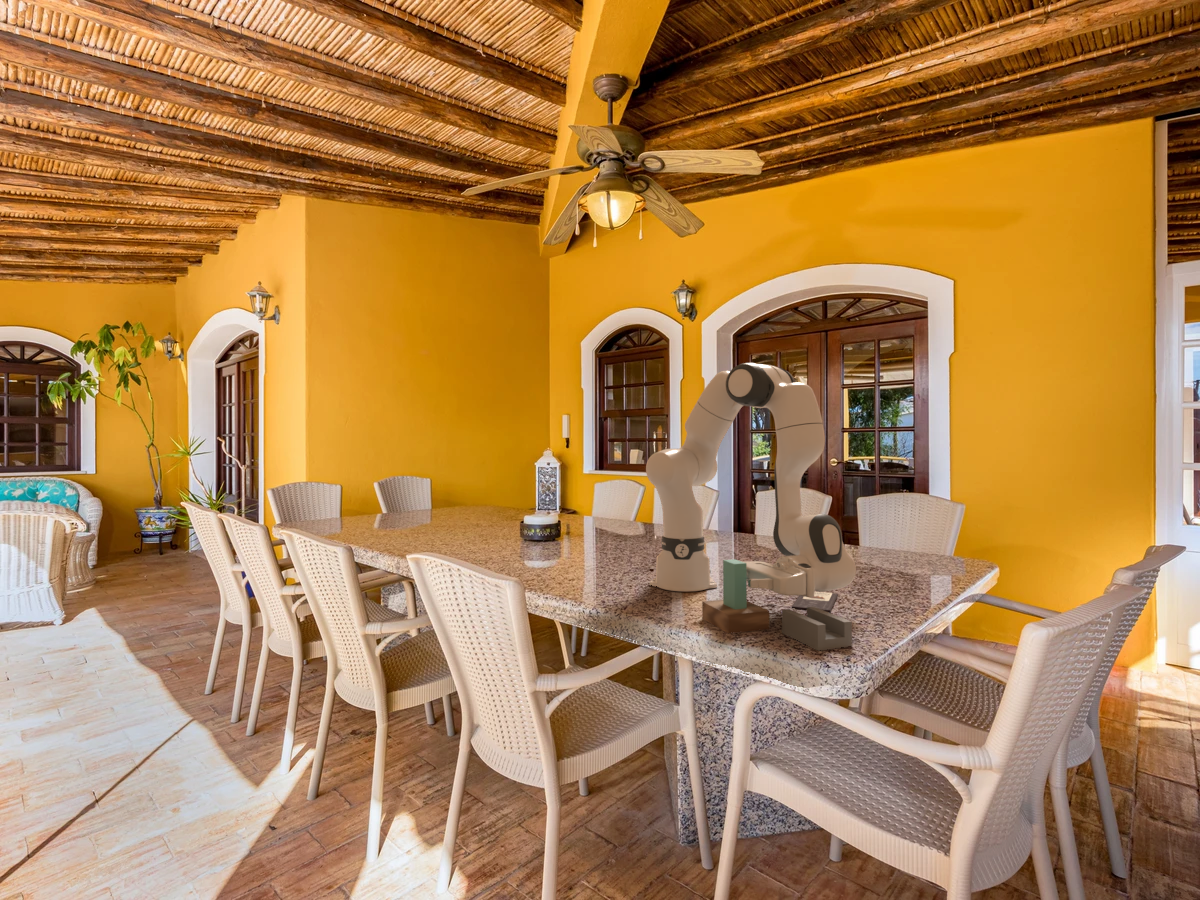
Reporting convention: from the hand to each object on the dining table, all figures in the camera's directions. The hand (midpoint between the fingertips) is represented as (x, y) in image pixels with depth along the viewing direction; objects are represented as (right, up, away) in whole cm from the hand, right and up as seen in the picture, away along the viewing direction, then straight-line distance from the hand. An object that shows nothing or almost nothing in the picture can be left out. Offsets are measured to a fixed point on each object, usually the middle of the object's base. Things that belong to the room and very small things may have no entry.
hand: (738, 579), depth 143 cm
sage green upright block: (-1, -6, 0) cm, 6 cm away
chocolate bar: (+24, -10, +19) cm, 32 cm away
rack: (+13, -10, -12) cm, 21 cm away
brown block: (-1, -10, 0) cm, 10 cm away
